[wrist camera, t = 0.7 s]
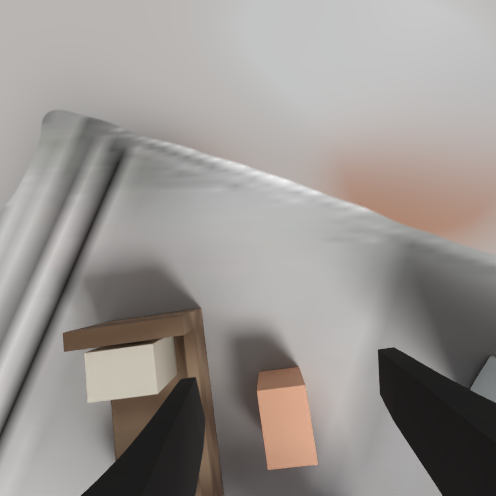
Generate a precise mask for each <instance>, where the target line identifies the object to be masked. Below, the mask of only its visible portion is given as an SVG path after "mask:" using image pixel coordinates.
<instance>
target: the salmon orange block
mask: <svg viewBox="0 0 496 496" xmlns="http://www.w3.org/2000/svg"><path fill="white" fill-rule="evenodd" d="M257 396H258V403H259V411H260V418H261V425H262V432H263V439H264V446H265V453H266V460H267V467H268V470H273V469H282V468H291V467H300V466H309V465H318V460H317V454H316V448H315V442H314V436H313V429H312V423H311V417H310V411H309V405H308V399H307V393H306V387H305V383H304V380H303V377H302V374H301V372H300V369H299V367H292V368H285V369H277V370H269V371H262V372H259V375H258V384H257Z"/></svg>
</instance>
